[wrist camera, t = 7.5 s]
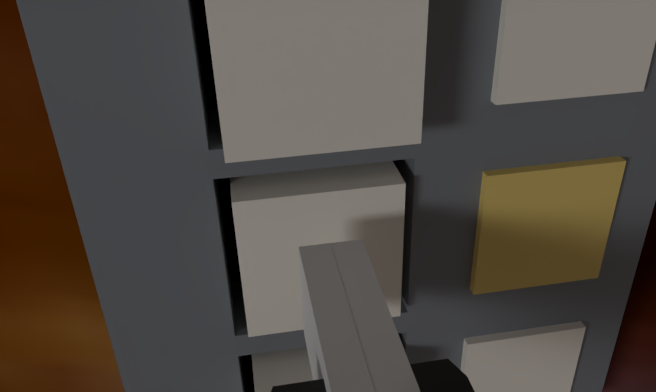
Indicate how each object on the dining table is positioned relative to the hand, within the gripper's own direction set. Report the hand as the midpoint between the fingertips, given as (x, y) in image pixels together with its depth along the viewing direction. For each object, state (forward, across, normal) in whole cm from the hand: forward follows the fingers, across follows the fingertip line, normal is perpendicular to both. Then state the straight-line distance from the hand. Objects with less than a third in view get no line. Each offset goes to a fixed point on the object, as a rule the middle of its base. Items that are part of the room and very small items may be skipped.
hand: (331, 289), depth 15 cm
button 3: (+4, 0, 0) cm, 4 cm away
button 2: (+3, 0, +6) cm, 6 cm away
